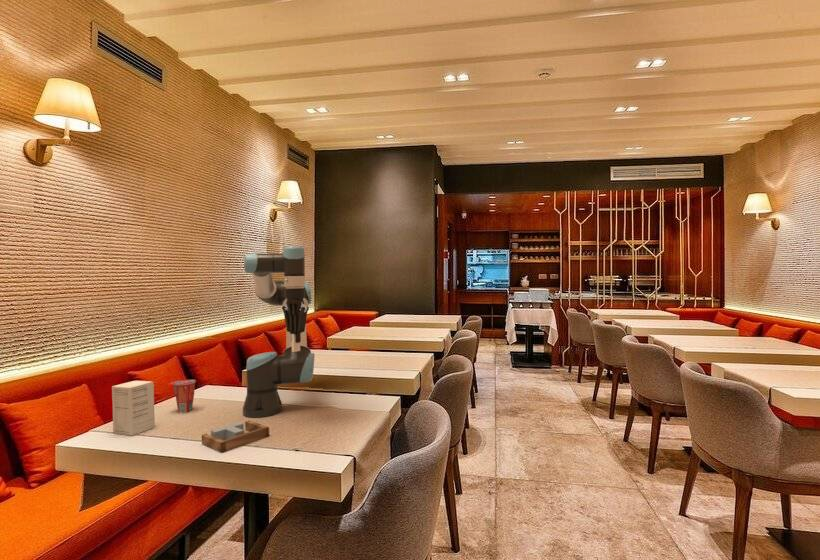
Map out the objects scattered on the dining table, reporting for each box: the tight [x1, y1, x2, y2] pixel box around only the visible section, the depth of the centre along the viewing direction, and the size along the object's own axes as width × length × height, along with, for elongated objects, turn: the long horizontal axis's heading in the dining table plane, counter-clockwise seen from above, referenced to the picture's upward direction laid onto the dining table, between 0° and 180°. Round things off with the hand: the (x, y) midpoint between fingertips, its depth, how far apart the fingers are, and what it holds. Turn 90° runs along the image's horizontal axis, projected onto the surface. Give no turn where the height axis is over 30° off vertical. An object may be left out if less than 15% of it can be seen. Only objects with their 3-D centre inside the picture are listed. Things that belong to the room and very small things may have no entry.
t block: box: [210, 421, 245, 440], centre depth 142 cm, size 9×10×4 cm
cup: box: [168, 379, 197, 414], centre depth 174 cm, size 9×8×12 cm
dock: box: [201, 420, 270, 454], centre depth 141 cm, size 12×17×3 cm
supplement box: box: [111, 380, 156, 437], centre depth 152 cm, size 10×9×17 cm
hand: (296, 351), depth 158 cm, fingers closed
